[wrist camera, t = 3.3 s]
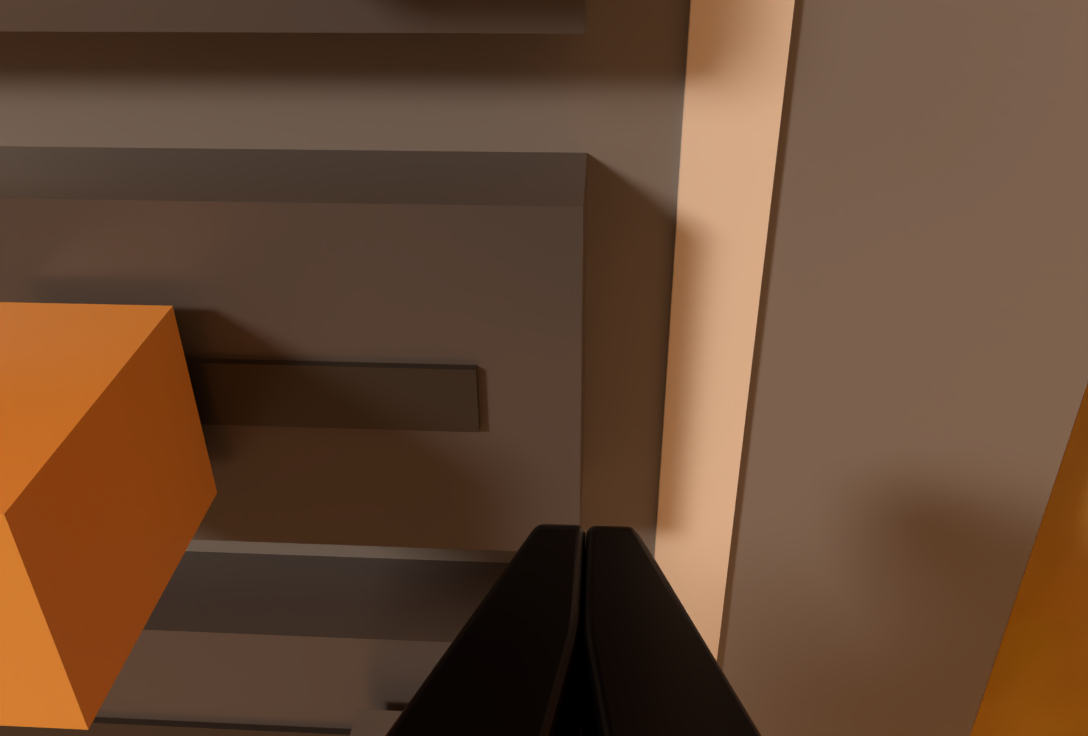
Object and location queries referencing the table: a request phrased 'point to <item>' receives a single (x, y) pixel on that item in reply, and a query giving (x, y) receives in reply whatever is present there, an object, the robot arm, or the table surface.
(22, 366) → the handle
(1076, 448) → the table surface
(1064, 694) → the table surface
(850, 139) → the panel
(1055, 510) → the table surface
